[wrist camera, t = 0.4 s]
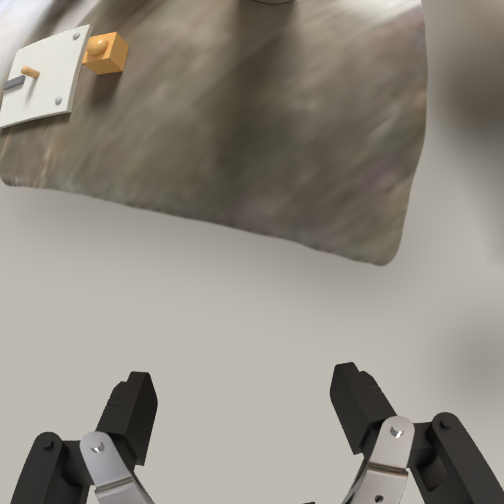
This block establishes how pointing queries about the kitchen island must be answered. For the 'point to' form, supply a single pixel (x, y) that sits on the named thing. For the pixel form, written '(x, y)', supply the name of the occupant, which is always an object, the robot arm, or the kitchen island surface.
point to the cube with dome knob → (105, 53)
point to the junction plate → (44, 77)
